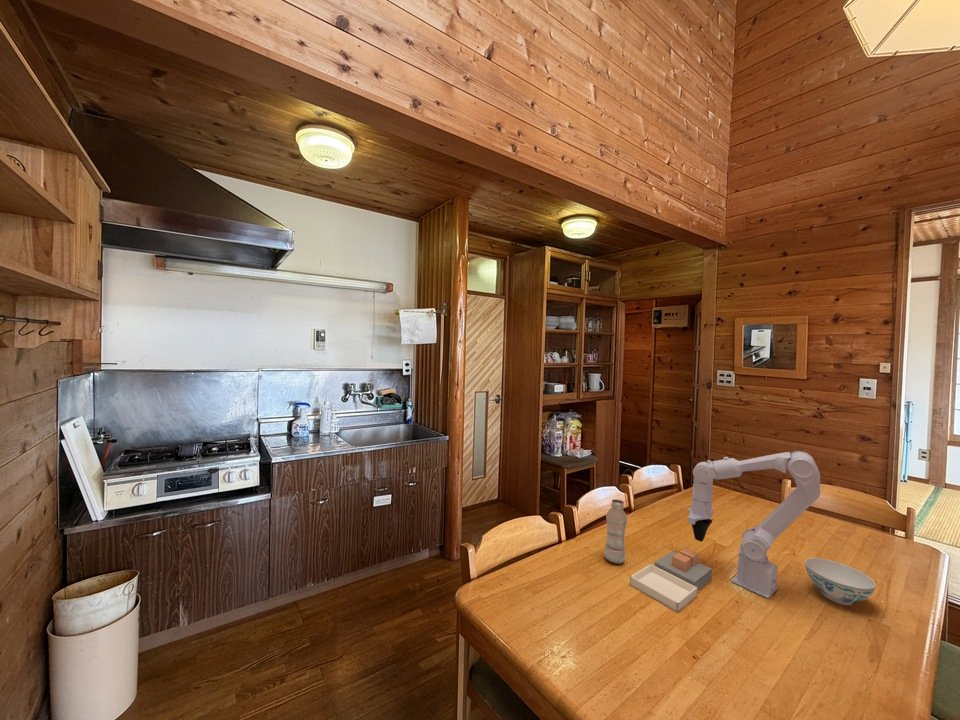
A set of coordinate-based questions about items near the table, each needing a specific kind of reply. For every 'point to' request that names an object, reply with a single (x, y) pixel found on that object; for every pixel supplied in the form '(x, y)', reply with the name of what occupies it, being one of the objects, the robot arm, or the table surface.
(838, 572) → the chinaware
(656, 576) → the tray
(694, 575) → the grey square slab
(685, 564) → the terracotta block
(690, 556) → the orange brown block
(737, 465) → the robot arm
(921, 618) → the table surface
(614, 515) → the plastic bottle
